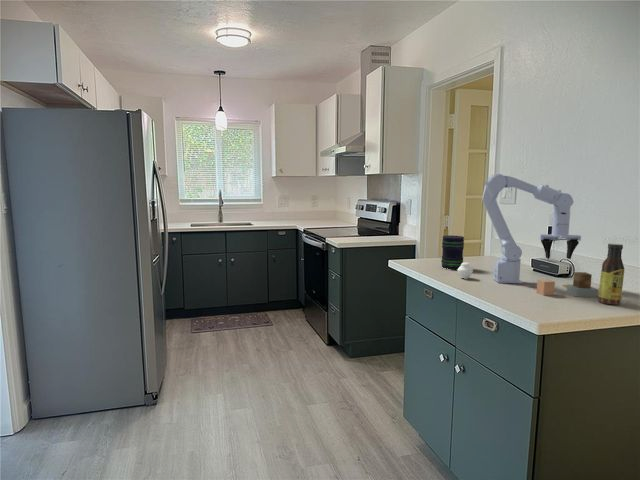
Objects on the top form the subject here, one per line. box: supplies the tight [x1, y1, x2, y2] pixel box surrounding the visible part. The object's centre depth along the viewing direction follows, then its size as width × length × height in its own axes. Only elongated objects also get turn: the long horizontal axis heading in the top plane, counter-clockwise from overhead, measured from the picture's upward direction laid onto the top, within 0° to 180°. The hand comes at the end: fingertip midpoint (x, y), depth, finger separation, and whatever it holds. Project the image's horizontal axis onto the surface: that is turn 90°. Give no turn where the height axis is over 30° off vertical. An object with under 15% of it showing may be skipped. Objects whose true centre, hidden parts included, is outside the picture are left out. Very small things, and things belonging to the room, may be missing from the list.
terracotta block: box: [536, 278, 556, 297], centre depth 151 cm, size 4×4×5 cm
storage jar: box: [440, 235, 465, 269], centre depth 198 cm, size 10×10×15 cm
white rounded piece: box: [457, 261, 474, 280], centre depth 177 cm, size 6×6×7 cm
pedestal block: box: [566, 283, 599, 298], centre depth 152 cm, size 7×7×3 cm
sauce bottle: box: [598, 242, 625, 306], centre depth 139 cm, size 6×6×20 cm
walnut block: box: [572, 271, 593, 288], centre depth 151 cm, size 4×4×5 cm
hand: (558, 258), depth 166 cm, fingers open, 7 cm apart
